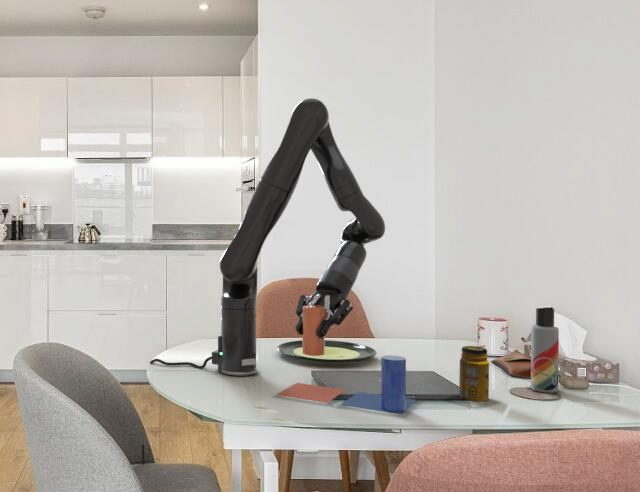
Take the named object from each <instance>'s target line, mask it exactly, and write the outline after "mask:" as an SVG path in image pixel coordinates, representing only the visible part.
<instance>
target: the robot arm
mask: <svg viewBox="0 0 640 492" xmlns="http://www.w3.org/2000/svg"><path fill="white" fill-rule="evenodd" d="M329 114H330V113H329V110H328V108H327V106H326V105H325V104H324V102H322V101H321V100H319V99H318V98H313V97H312V98H305V99H303V100H301V101H299V102H298V103H297V104H296V105H295V106H294V108H293V110H292V112H291V115H290V117H289V118H290V119H289V121H288V124H287V127H286V130H285V132H284V135H283V137H282V140H281V142H280V143H279V146H278V148H277V149H276V151H275V153H274V154H273V155H272V156H271V159H270V160H269V162H268V164H267V166H266V167H265V170H264V171H263V173H262V175H261V177H260V179H259V181H258V182H257V184H256V186H255V189H254V191H253V193H252V196H251V198H250V200H249V202H248V205H247V208H246V210H245V212H244V215H243V218H242V221H241V224H240V225H239V228H238V229H237V231H236V233H235V235H234V237H233V238H232V239H231V242H230V243H229V245H228V247H226V250H225V251H224V252H223V253H222V255H221V257H220V260H219V271H220V273H221V275H222V288H221V289H222V290H221V295H220V335H218V336H217V349H216V350H213V351H212V352H211V356H209V357H207V358H206V359H205V360H204V361H203V364H202V365H199V364H196V363H193V362H190V361H189V362H188V361H180V362H167V361H165V360H162V359H159V358H153V359H154V360H153V359H152V360H151V361H150V362H149V364H154V363H155V362H158V363H160V364H162V365H165V366H171V367H173V366H191V367H194V368H195V369H200V370H201V369H204V368H206V366H207V364H208V362H209V361H211V364H212V365H217V373H221V374H224V375H228V376H234V377H246V376H252V375H255V374H257V299H258V258H259V256H260V253H261V251H262V248H263V246H264V244H265V241H266V240H267V238H268V236H270V233H271V232H272V230H273V229H274V227H275V226H276V225H277V223H278V222H279V220H280V218H281V217H282V216H283V214H284V212H285V210H286V209H287V207H288V205H289V203H290V201H291V199H292V197H293V195H294V192H295V190H296V188H297V185H298V183H299V180H300V177H301V174H302V171H303V168H304V164H305V162H306V159H307V157H308V155H309V152H310V151H311V153H312V154H313V156H314V158H315V159H316V162H317V163H318V166H319V168H320V171H321V173H322V175H323V178H324V180H325V183H326V185H327V187H328V190H329V193H330V194H331V196H332V198H333V200H334V202H335V204H336V206H337V208H338V209H339V210H340V211H341V212H350V213H351V214H352V215H353V216H354V217H355V218H352V219H350V220H348V222H347V223H346V224H345V225H344V226H343V229H342V231H341V236H340V240H339V246H338V247H337V249H336V251H335V253H334V254H333V257H331V260H330V261H329V262H328V264H327V265H326V267H325V269H324V271H323V272H322V274H321V276H320V278H319V280H318V282H317V284H316V288H315V291H314V292H313V293H312V294H311V295H310V296H306V295H305V294H301V295H300V296H299V300H298V303H297V305H296V309H295V314H296V315H297V317H298V322H297V324H296V325H295V331H296V333H297V334H298V335H299V336H303V306H304V305H320V306H324V307H325V315H324V320H322V322H321V324H320V326H319V328H318V329H317V331H316V334H317V336H318V337H319V338H323V337H324V336H327V333H328V332H329V330H330V328H331V327H333V326H334V325H336V326H340V325H341V324H342V323H343V322H344V321H345V320H346V319H347V317H348V315H349V314H350V313H351V312H352V310H353V309H354V306H353V304H352V303H351V301H350V300H349V299H348V296H349V294H350V293H351V291H352V288H353V286H354V285H355V283H356V281H357V279H358V275H359V273H360V270H361V269H362V267H363V266H364V265H363V264H364V263H365V261H366V258H367V249H366V247H365V245H367V244H370V243H372V242H376V241H378V240H380V239H381V238H383V236H384V235H385V232H386V223H385V220H384V218H383V217H382V215H381V212H379V211H378V209H377V208H376V207H375V206H374V205H373V204H372V202H371V201H370V200H369V199H368V198H367V197H366V195H364V193H363V190H362V188H361V187H360V185H359V182H358V180H357V178H356V177H355V175H354V172H353V171H352V169H351V167H350V165H349V164H348V162H347V161H346V159H345V157H344V155H343V154H342V152H341V151H340V149H339V147H338V144H337V142H336V140H335V137H334V134H333V132H332V127H331V124H330V122H329V120H330V115H329ZM145 461H146V460H145V444H141V465H142V464H143V465H144V464H145V463H146V462H145ZM145 465H146V464H145Z"/></svg>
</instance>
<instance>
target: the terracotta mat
mask: <svg viewBox="0 0 640 492" xmlns="http://www.w3.org/2000/svg"><path fill="white" fill-rule="evenodd" d="M345 391H346V389H345V388H343V389H342V388H336V387H328V386H323V385H315V384H309V383H301V382H296V383H295V384H293V385H291V386H290V387H288V388H286V389H284V390H282V391H281V392H279V393H277V394H276V396H281V397H288V398H294V399H301V400H308V401H315V402H320V403H325V404H327V403H329V402H330V401H332V400H334V399H335V398H336V397H338V396H339V395H341V394H343V393H344V392H345Z"/></svg>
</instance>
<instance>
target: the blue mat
mask: <svg viewBox="0 0 640 492" xmlns="http://www.w3.org/2000/svg"><path fill="white" fill-rule="evenodd" d="M415 402H417V399H412V398H406V410H405V411H404V412H389V411H385V410H383V409H382V408H381V394H378V393H371V392H364V391H358V392H356V393H354V394H353V395H352V396H351V397H349V398H348V399H347V400H345V401H343V403H341V404H340V405H341V406H346V407H351V408H358V409H365V410H371V411H377V412H383V413H391V414H397V415H403V414H405V412H406V411H407V410H408V409H409V408H410V407H411V406H412V405H414V403H415Z"/></svg>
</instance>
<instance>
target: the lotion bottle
mask: <svg viewBox="0 0 640 492" xmlns="http://www.w3.org/2000/svg"><path fill="white" fill-rule="evenodd" d="M559 334H560V331H559V327H557V326H555V309H554V308H553V306H546V307H545V306H544V307H536V308H535V325H531V334H530V339H531V340H530V341H531V342H530V344H531V345H530V349H531V350H530V358H531V378H530V388H531V390H533V391H536V392H539V393H546V394H553V393H557V392H558V391H559V356H560V355H559V353H560V352H559V351H560V350H559V348H560V347H559V345H560V344H559V343H560V341H559V340H560V337H559V336H560V335H559Z"/></svg>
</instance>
